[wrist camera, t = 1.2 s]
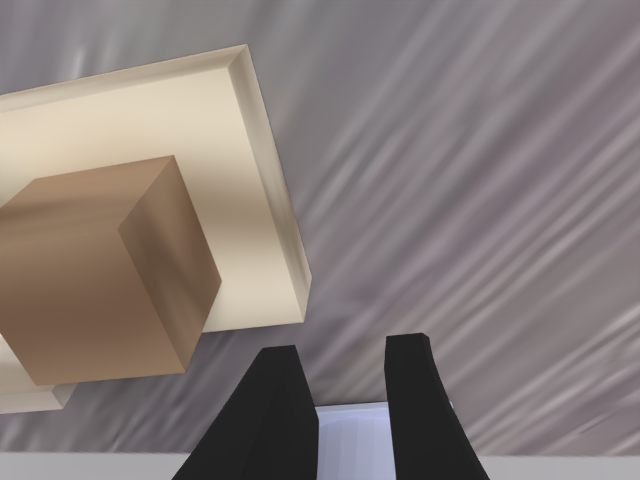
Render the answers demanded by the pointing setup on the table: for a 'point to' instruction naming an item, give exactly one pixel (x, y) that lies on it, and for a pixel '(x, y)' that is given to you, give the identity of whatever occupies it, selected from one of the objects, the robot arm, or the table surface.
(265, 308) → the board
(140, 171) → the walnut block
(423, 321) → the table surface
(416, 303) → the table surface
